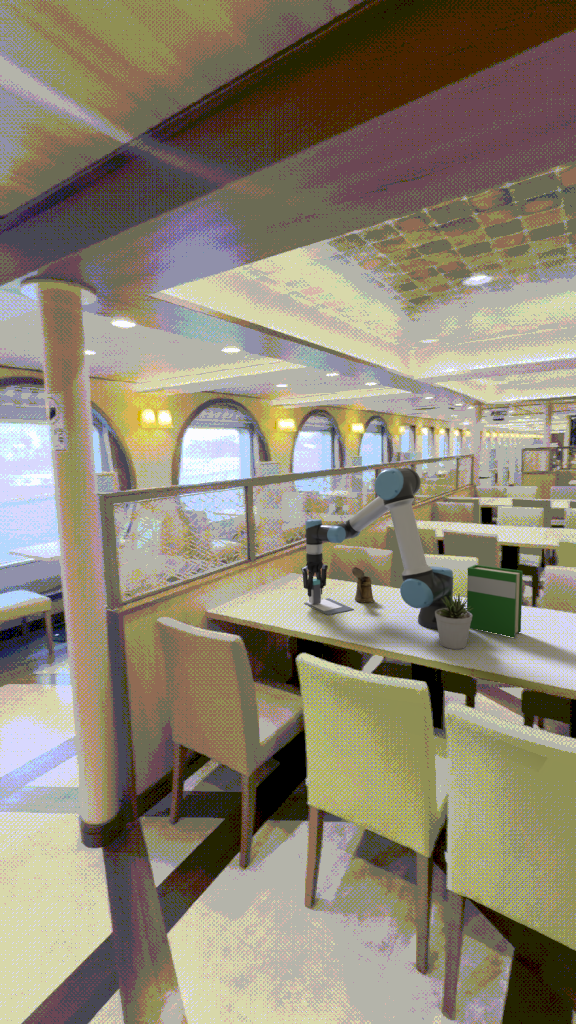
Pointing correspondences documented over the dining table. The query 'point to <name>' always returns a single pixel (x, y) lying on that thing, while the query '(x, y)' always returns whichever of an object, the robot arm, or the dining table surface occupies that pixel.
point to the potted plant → (453, 623)
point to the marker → (316, 591)
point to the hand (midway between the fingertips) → (315, 602)
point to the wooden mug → (363, 587)
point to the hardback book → (495, 599)
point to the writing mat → (329, 606)
